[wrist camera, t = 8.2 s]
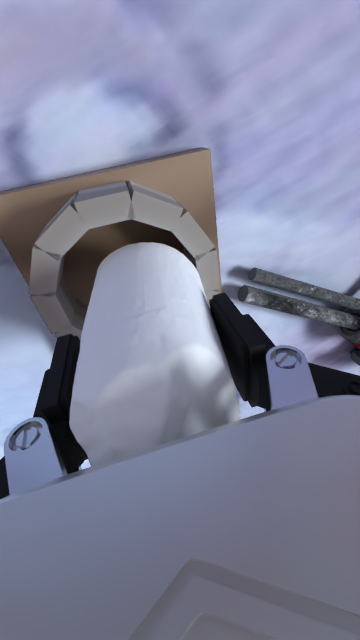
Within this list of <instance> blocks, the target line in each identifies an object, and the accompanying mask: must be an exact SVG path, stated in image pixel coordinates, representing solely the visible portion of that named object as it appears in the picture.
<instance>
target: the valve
mask: <svg viewBox="0 0 360 640" xmlns="http://www.w3.org/2000/svg"><path fill="white" fill-rule="evenodd" d="M249 279H250V280H251V281H255V282H258V283H262V284H266V285H269V286H273V287H276V288H280V289H283V290H287V291H291V292H294V293H298V294H301V295H305V296H308V297H312V298H316V299H319V300H323V301H326V302H330V303H333V304H337V305H341V306H344V307H348V308H346V309H345V310H344V311H343V312H341V311H338V310H334V309H330V308H327V307H323V306H319V305H316V304H312V303H308V302H305V301H301V300H297V299H294V298H290V297H286V296H283V295H279V294H276V293H272V292H268V291H265V290H261V289H257V288H254V287H250V286H246V285H244V286H242V287H241V288H240V290H239V293H238V299H239V300H240V301H241V302H245V303H249V304H253V305H258V306H262V307H266V308H270V309H274V310H278V311H282V312H286V313H290V314H294V315H298V316H302V317H306V318H310V319H314V320H318V321H322V322H326V323H330V324H334V325H338V330H339V332H340V334H341V335H342V336H343V337H344V338H346V339H347V340H348V341H350V342H351V343H352V344H353V345H355V346H356V347H357V348H359V349H360V299H358V298H354V297H351V296H348V295H344V294H341V293H338V292H334V291H331V290H328V289H324V288H321V287H318V286H314V285H311V284H308V283H304V282H301V281H298V280H294V279H291V278H288V277H284V276H281V275H278V274H274V273H271V272H268V271H264V270H261V269H258V268H253V269H252V270H251V271H250V274H249ZM351 358H352V359H353V360H354V361H355V362H356V363H357V364H358V365H359V366H360V350H353V352H352V353H351Z"/></svg>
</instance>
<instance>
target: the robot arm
mask: <svg viewBox="0 0 360 640" xmlns="http://www.w3.org/2000/svg"><path fill="white" fill-rule="evenodd" d="M209 305H210V310H211V313H212V316H213V319H214V322H215V326H216V329H217V332H218V334H219V338H220V341H221V344H222V347H223V350H224V353H225V356H226V358H227V361H228V365H229V369H230V372H231V375H232V379H233V381H234V384H235V386H236V388H237V389H238V391H239V393H240V395H241V397H242V399H243V400H244V401H248V402H249V404H250V405H251V407H255V406H259V407H261V408H264V410H265V412H263V413H260V414H257V415H254V416H250V417H247V418H244V419H241V420H238V421H234V422H231V423H228V424H225V425H221V426H218V427H215V428H212V429H209V430H205V431H202V432H199V433H196V434H193V435H190V436H186V437H183V438H180V439H177V440H174V441H170V442H167V443H164V444H161V445H158V446H155V447H152V448H148V449H145V450H142V451H139V452H136V453H133V454H130V455H126V456H123V457H120V458H117V459H114V460H111V461H108V462H105V463H102V464H99V465H95V466H92V467H89V468H86V469H83V470H82V469H81V464H82V463H83V462H84V460H86V459H88V456H87V454H86V452H85V450H84V449H83V448H82V447H81V445H80V444H79V443H78V442H77V440H76V438H75V436H74V434H73V433H72V431H71V429H70V424H69V421H70V406H71V398H72V390H73V384H74V376H75V372H76V366H77V361H78V356H79V352H80V340H79V338H78V336H77V335H76V336H73V335H72V334H67V335H64V336H60V337H58V338H57V342H56V346H55V350H54V354H53V358H52V362H51V366H50V369H48V370H46V372H45V374H44V378H43V382H42V386H41V389H40V393H39V397H38V401H37V404H36V408H35V412H34V416H33V418H30V419H27V420H25V421H23V422H21V423H20V424H19V425H17V426H16V427H15V428H14V429H13V430H12V431H11V432H10V433H9V435H8V436H7V438H6V440H5V443H4V455H5V456H4V457H3V458H2V459H1V460H0V640H360V376H358V375H354V374H350V373H346V372H343V371H339V370H335V369H331V368H327V367H323V366H319V365H315V364H311V363H308V362H307V359H306V357H305V355H304V353H303V352H302V351H300V350H299V349H297V348H295V347H292V346H287V345H280V346H275V345H274V344H273V342H272V341H271V340H270V339H269V338H268V336H267V335H266V334H265V333H264V332H263V330H262V329H261V328H260V327H259V326H258V324H257V323H256V322H255V321H254V320H253V318H252V317H251V316H250V315H249V314H245V315H242V314H241V313H240V311H239V310H238V309H237V308H236V306H235V305H234V304H233V302H232V301H231V300H230V299H229V297H228V296H227V295H226V294H225V293H220V294H216V295H213V297H212V299H210V300H209Z"/></svg>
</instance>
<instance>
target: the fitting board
mask: <svg viewBox="0 0 360 640" xmlns="http://www.w3.org/2000/svg"><path fill="white" fill-rule="evenodd" d="M0 237H1V239H2V241H3V243H4V244H5V246H6V248H7V249H8V251H9V253H10V254H11V256H12V258H13V260H14V261H15V263H16V265H17V266H18V268H19V270H20V272H21V273H22V275H23V277H24V278H25V280H26V282H27V283H28V285H29V293H30V294H31V296H30V298H31V300H32V302H33V303H34V305H35V307H36V308H37V310H38V312H39V313H40V315H41V317H42V318H43V320H44V322H45V323H46V325H47V327H48V328H49V330H50V332H51V333H55V337H57V338H58V337H60V336H64V335H67V334H72V335H73V336H76V335H77V336H78V338H79V340H80V341H81V333H82V330H83V325H84V321H85V317H86V313H87V310H88V306H89V302H90V298H91V293H92V290H93V286H94V282H95V278H96V274H97V270H98V267H99V265H100V264H101V262H102V261H103V260H104V259H105V258H106V257H107V256H108V255H109V254H111V253H112V252H114V251H115V250H117V249H119V248H121V247H124V246H126V245H129V244H136V243H141V242H147V243H149V242H154V243H161V244H165V245H167V246H170V247H172V248H174V249H176V250H178V251H179V252H180V253H182V254H183V255H184V256H185V257H186V258H187V259H188V260H189V261H190V262H191V263H192V264H193V265H194V267H195V268H196V269H197V271H198V273H199V276H200V279H201V282H202V286H203V289H204V292H205V296H206V298H207V302H208V305H209V300H210V299H212V297H213V295H216V294H220V293H222V288H221V276H220V263H219V251H218V239H217V226H216V214H215V202H214V189H213V177H212V165H211V152H210V149H208V148H198V149H193V150H188V151H184V152H179V153H175V154H170V155H166V156H161V157H157V158H152V159H148V160H143V161H138V162H134V163H129V164H125V165H120V166H116V167H111V168H107V169H102V170H98V171H93V172H88V173H84V174H79V175H75V176H70V177H66V178H61V179H57V180H52V181H48V182H43V183H38V184H34V185H29V186H25V187H20V188H16V189H11V190H7V191H2V192H0ZM209 308H210V305H209Z"/></svg>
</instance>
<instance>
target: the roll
mask: <svg viewBox="0 0 360 640" xmlns="http://www.w3.org/2000/svg"><path fill="white" fill-rule="evenodd" d="M238 420H240V406H239V400H238V395H237V391H236V387H235V384H234V381H233V379H232V375H231V372H230V369H229V365H228V361H227V358H226V356H225V353H224V350H223V347H222V344H221V341H220V338H219V334H218V332H217V329H216V326H215V322H214V319H213V316H212V313H211V310H210V308H209V305H208V302H207V298H206V296H205V292H204V289H203V286H202V282H201V279H200V276H199V273H198V271H197V269H196V268H195V267H194V265H193V264H192V263H191V262H190V261H189V260H188V259H187V258H186V257H185V256H184V255H183V254H182V253H180V252H179V251H178V250H176V249H174V248H172V247H170V246H167V245H165V244H161V243H154V242H149V243H147V242H141V243H136V244H129V245H126V246H124V247H121V248H119V249H117V250H115V251H114V252H112V253H111V254H109V255H108V256H107V257H106V258H105V259H104V260H103V261H102V262H101V264H100V265H99V267H98V270H97V274H96V278H95V282H94V286H93V290H92V293H91V298H90V302H89V306H88V310H87V313H86V317H85V321H84V325H83V330H82V333H81V341H80V352H79V356H78V361H77V366H76V372H75V376H74V384H73V390H72V398H71V406H70V421H69V424H70V429H71V431H72V433H73V434H74V436H75V438H76V440H77V442H78V443H79V444H80V445H81V447H82V448H83V449H84V450H85V452H86V454H87V456H88V460H89V462H90V465H91V467H92V466H95V465H99V464H102V463H105V462H108V461H111V460H114V459H117V458H120V457H123V456H126V455H130V454H133V453H136V452H139V451H142V450H145V449H148V448H152V447H155V446H158V445H161V444H164V443H167V442H170V441H174V440H177V439H180V438H183V437H186V436H190V435H193V434H196V433H199V432H202V431H205V430H209V429H212V428H215V427H218V426H221V425H225V424H228V423H231V422H234V421H238Z"/></svg>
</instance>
